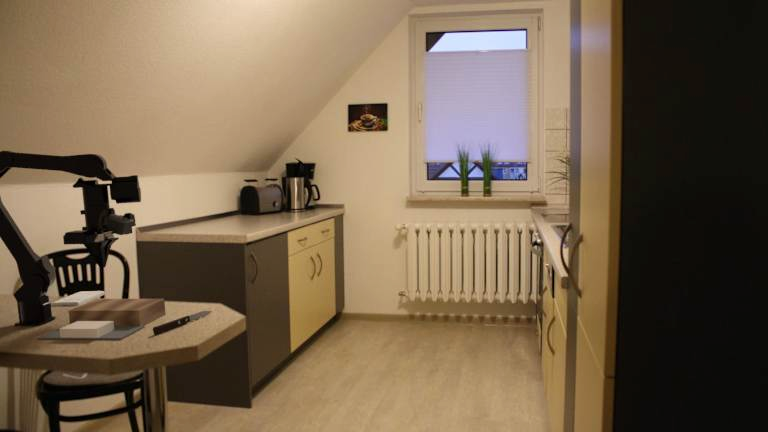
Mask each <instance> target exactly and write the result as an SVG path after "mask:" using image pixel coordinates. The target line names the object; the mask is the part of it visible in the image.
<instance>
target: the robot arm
mask: <svg viewBox="0 0 768 432" xmlns="http://www.w3.org/2000/svg"><path fill="white" fill-rule="evenodd" d="M107 164H108V163H107V161H106V159H105V158H104V157H103V156H102V155H100V154H97V153H85V154H84V153H83V154H73V155H53V154H41V153H40V154H39V153H28V152H27V153H26V152H15V151H12V150H1V151H0V179H2V178H3V177H4V175H6V174H7V173H8V172H9V171H10V170H11V169H12V168H13V169H14V168H15V169H16V168H17V169H30V170H45V171H57V172H59V171H60V172H65V173H69V174H72V175H75V176H76V175H77V176H79V178H78V179H77V181H75V183H74V184H72V188H74V189H79V188H81V190H82V199H83V200H82V202H83V209H82V210H80V215H81V216H83V215H84V220H85V221H84V222H85V226H82V227H81V230H73V231H72V230H71V231H67V232H65V233H64V234H63V236H62V239H63V244H64V245H83V246H84V247H85V248H86V249H87V251H88V252H89V254H90V255H91V257H92V258H93V259H94V261H95V262H96V264H97V265H98V267H99V268H100V269H101V268H102V269H104V268H106V266H107V263H108V259H109V254H110V251H111V249H112V245H113V244H114V243H115V242H116V241H118V240H119V237H115V236H114V235H120V236H123V235H125V236H126V235H130V234H133V227H136V225H137V223H136V217H135V214H134V213H131V212H126V213H124V214H123V215H121V214H120V215H119V214H116V211H115V209H114V207H110V199H111V201H112V200H113V201H115V202H116V205H117V204H130V203H142V191H141V190H142V189H141V187H140V182H139V176H138V174H137V175H136V174H134V175H128V176H127V175H126V176H116V175H115V174H114V173H113V172H112V171H111V170H110V169H109V168H108V165H107ZM82 177H85V178H88V180H87V179H86V180H85V179H84V178H82ZM89 178H90V179H89ZM94 178H96V179H94ZM99 180H100V181H102V182H111V183H99ZM108 187H109V188H108ZM109 195H110V198H109ZM0 239H1V241H2V242H3V244H4V246H5V247H6V248H7V250H8V251H9V253H10V254H11V256H12V258H14V261H15V262H16V266H17V271H18V274H19V277H20V279H21V282H22V285H21V286H20V287H19V288H18V289H17V290H16V291H15V292H14V293H13V297H14V299H15V301H16V304H17V313H18V322H14V326H18V325H23V326H31V327H32V326H36V327H37V326H40V325H42V324H45V323H48V322H50V321H53V320H55V319H56V316H53V315H52V313H53V312H52V306H51V303H52V302H50V296H49V295H46V294H47V293H48V291H49V288H50V287H51V286H53V284H54V283H55V280H56V277H57V274H56V271H55V270H56V269H57V268H56V267H55V266H54V265H53V264H52V263H51V261H50V258H49V256H48V254H47V255H43V257H41V256H40V255H39V254H37V253H36V252H35V251H34V250H33V248H32V246H31V245H30V243H29V242H28V240H27V239H26V237H25V236H24V234H23V233H22V231H21V229H20V227H18V225H17V223H16V222H15V220H14V218H13V217H12V215H11V214H10V213H9V211H8V210H7V208H6V207H5V205H4V203H3V201H2V198H1V196H0Z"/></svg>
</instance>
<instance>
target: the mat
mask: <svg viewBox="0 0 768 432" xmlns="http://www.w3.org/2000/svg"><path fill="white" fill-rule="evenodd" d="M65 326H66V325H64V326H63V327H65ZM144 328H145V326H114V330H113V331H111V332H109V333H107V334H105V335H103V336H100V337H98V338H60V330H59V329H60V328H58V329H55V330H53V331H50V332H48V333H46V334H43V335H41V336H39V337H38V340H77V341H78V340H81V341H82V340H84V341H85V340H87V341H88V340H89V341H90V340H91V341H94V340H97V341H98V340H99V341H102V340H103V341H105V340H106V341H107V340H109V341H113V340H114V341H117V340H118V341H120V340H123V339H125V338H127V337H129V336H131V335H134V334H136V333H137V332H138V331H140V330H143V329H144Z"/></svg>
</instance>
